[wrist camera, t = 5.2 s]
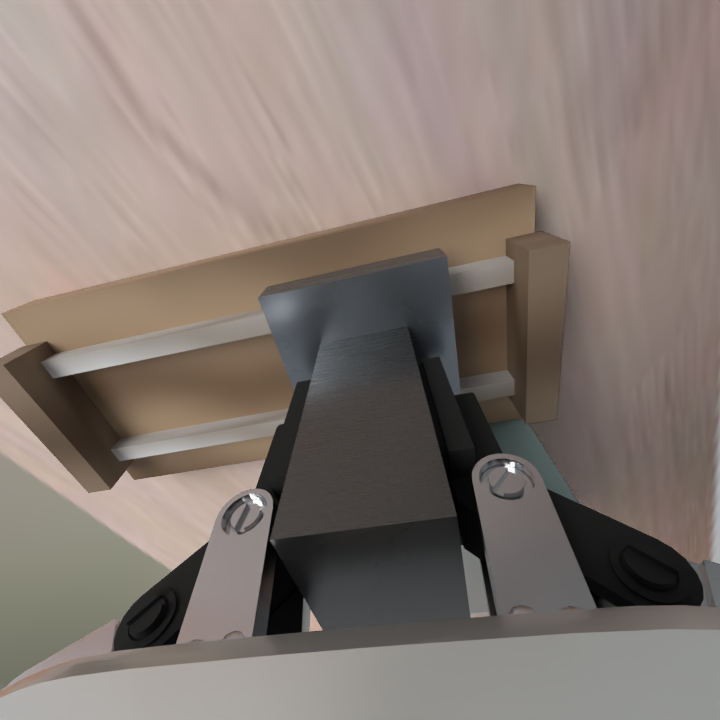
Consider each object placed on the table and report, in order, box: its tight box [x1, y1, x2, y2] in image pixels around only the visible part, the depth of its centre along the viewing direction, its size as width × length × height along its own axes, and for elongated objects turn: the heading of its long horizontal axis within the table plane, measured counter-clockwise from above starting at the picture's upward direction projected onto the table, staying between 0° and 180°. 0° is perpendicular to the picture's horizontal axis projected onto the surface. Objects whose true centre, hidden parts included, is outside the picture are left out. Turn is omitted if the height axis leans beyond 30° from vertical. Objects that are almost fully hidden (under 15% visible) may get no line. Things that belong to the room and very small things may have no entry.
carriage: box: [258, 248, 471, 630], centre depth 10 cm, size 8×6×8 cm
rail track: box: [0, 184, 570, 493], centre depth 15 cm, size 10×21×4 cm, turn 103°
